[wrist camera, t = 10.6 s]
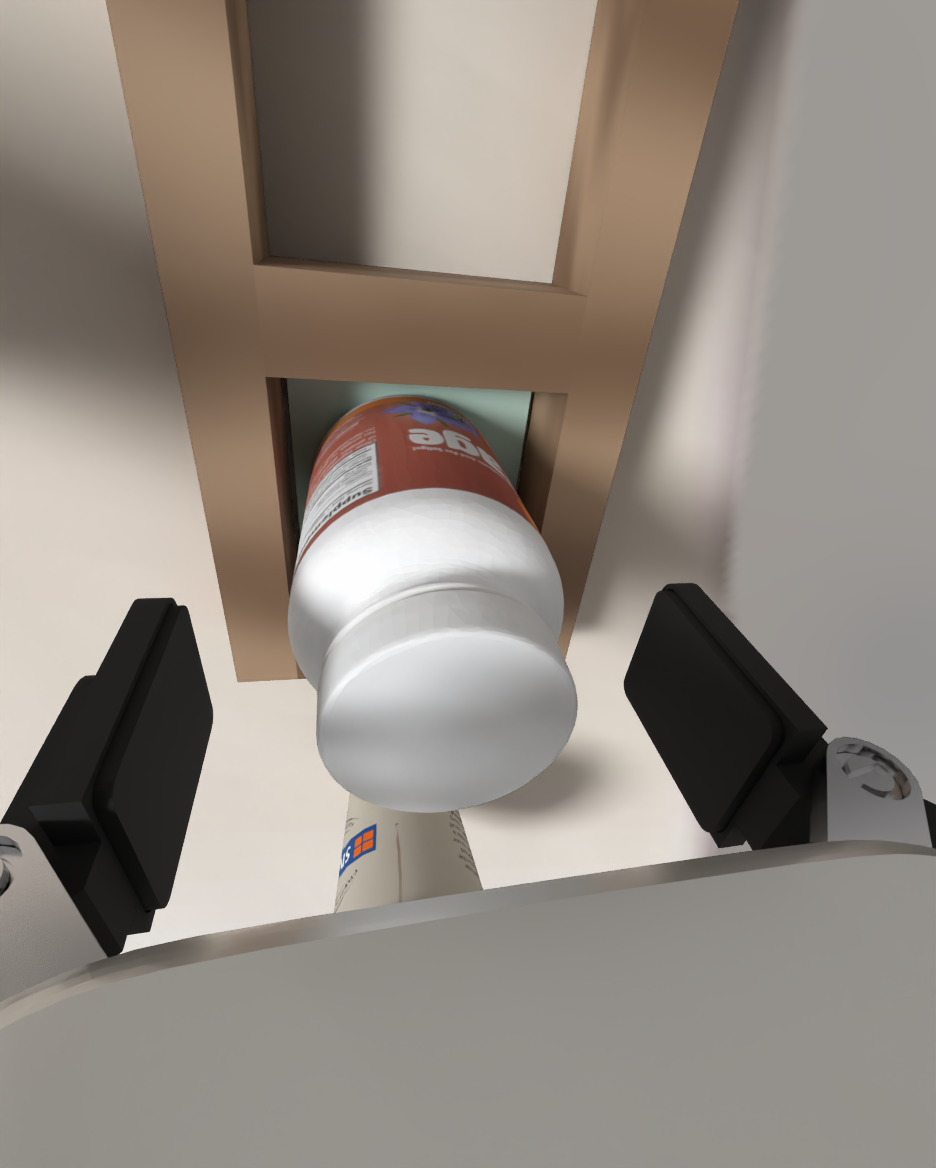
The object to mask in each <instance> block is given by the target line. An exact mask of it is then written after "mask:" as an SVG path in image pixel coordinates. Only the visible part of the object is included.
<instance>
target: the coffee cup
mask: <svg viewBox="0 0 936 1168" xmlns="http://www.w3.org/2000/svg"><path fill="white" fill-rule="evenodd" d="M481 890H483V888H482V885H481V882H480V878H479V875H478V872H477V869H476V866H475V862H474V859H473V856H472V853H471V850H470V847H469V843H468V840H467V837H466V834H465V831H464V827H463V824H462V821H461V818H460V815H459V812H458V810H453V811H446V812H435V813H421V812H406V811H400V810H393V809H388V808H385V807H381V806H378V805H375V804H372V803H370V802H367V801H364V800H362V799H360V798H358V797H356V796H355V795H353V794H352V793H350V798H349V805H348V812H347V820H346V827H345V835H344V842H343V849H342V857H341V864H340V872H339V879H338V887H337V894H336V901H335V909H334V913H338V912H344V911H351V910H357V909H364V908H370V907H377V906H383V905H390V904H396V903H403V902H409V901H415V900H422V899H428V898H435V897H441V896H448V895H454V894H461V893H467V892H474V891H481Z"/></svg>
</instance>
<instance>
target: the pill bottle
mask: <svg viewBox="0 0 936 1168" xmlns="http://www.w3.org/2000/svg"><path fill="white" fill-rule="evenodd" d="M563 614H564V597H563V588H562V582H561V578H560V575H559V572H558V569H557V566H556V564H555V562H554V560H553V558H552V555H551V553H550V551H549V549H548V547H547V545H546V543H545V541H544V539H543V538H542V536H541V535H540V533H539V531H538V529H537V527H536V526H535V524H534V522H533V520H532V519H531V517H530V515H529V513H528V512H527V510H526V508H525V507H524V505H523V503H522V501H521V499H520V498H519V496H518V494H517V493H516V491H515V490H514V488H513V486H512V484H511V483H510V481H509V479H508V477H507V476H506V474H505V472H504V471H503V469H502V467H501V465H500V464H499V462H498V460H497V458H496V457H495V455H494V453H493V452H492V450H491V448H490V446H489V445H488V443H487V441H486V440H485V438H484V437H483V435H482V434H481V433H480V431H479V430H478V429H477V428H476V427H475V425H474V424H473V423H472V422H471V421H470V420H469V419H468V418H467V417H465V416H464V415H463V414H462V413H460V412H459V411H457V410H456V409H454V408H452V407H451V406H449V405H446V404H444V403H442V402H440V401H437V400H434V399H431V398H427V397H423V396H417V395H403V394H401V395H390V396H383V397H379V398H376V399H373V400H370V401H367V402H365V403H363V404H360V405H359V406H357V407H355V408H353V409H352V410H350V411H349V412H348V413H346V414H345V415H344V416H342V417H341V418H340V419H339V420H338V421H337V422H336V423H335V424H334V425H333V426H332V428H331V429H330V430H329V431H328V433H327V434H326V435H325V437H324V439H323V440H322V442H321V444H320V447H319V449H318V451H317V454H316V457H315V460H314V463H313V468H312V474H311V479H310V485H309V491H308V497H307V502H306V508H305V514H304V520H303V526H302V532H301V537H300V542H299V548H298V555H297V560H296V565H295V570H294V575H293V581H292V585H291V593H290V599H289V608H288V632H289V638H290V644H291V647H292V650H293V654H294V656H295V659H296V661H297V663H298V665H299V667H300V669H301V671H302V672H303V674H304V675H305V677H306V678H307V680H308V681H309V683H310V684H311V685H312V686H313V687H314V688H315V690H316V691H317V730H316V736H317V745H318V750H319V754H320V757H321V759H322V761H323V763H324V765H325V767H326V769H327V770H328V772H329V773H330V775H331V776H332V777H333V778H334V779H335V780H336V782H337V783H339V784H340V785H341V786H342V787H343V788H344V789H346V790H347V791H349V792H350V793H352V794H353V795H355V796H356V797H358V798H360V799H362V800H364V801H367V802H370V803H372V804H375V805H378V806H381V807H385V808H388V809H393V810H400V811H406V812H421V813H435V812H446V811H453V810H459V809H464V808H469V807H473V806H477V805H480V804H484V803H487V802H489V801H492V800H495V799H498V798H500V797H502V796H504V795H506V794H509V793H511V792H513V791H515V790H517V789H518V788H520V787H522V786H524V785H525V784H527V783H528V782H529V781H531V780H532V779H533V778H535V777H536V776H538V775H539V774H540V773H541V772H543V771H544V770H545V769H546V768H547V767H548V766H549V765H550V764H551V763H552V762H553V761H554V760H555V758H556V757H557V756H558V755H559V754H560V752H561V751H562V749H563V748H564V746H565V745H566V743H567V742H568V739H569V737H570V735H571V733H572V730H573V728H574V725H575V721H576V716H577V693H576V688H575V684H574V681H573V678H572V675H571V673H570V671H569V668H568V666H567V664H566V661H565V659H564V657H563V654H562V652H561V650H560V647H559V645H558V639H559V635H560V631H561V628H562V622H563Z"/></svg>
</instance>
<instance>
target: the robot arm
mask: <svg viewBox="0 0 936 1168" xmlns="http://www.w3.org/2000/svg"><path fill="white" fill-rule="evenodd" d="M624 690H625V694H626V696H627V698H628V700H629V701H630V703H631V705H632V707H633V708H634V710H635V712H636V714H637V715H638V717H639V719H640V721H641V722H642V724H643V726H644V728H645V730H646V731H647V733H648V735H649V737H650V738H651V740H652V742H653V744H654V745H655V747H656V749H657V751H658V753H659V754H660V756H661V758H662V760H663V761H664V763H665V765H666V767H667V768H668V770H669V772H670V774H671V775H672V777H673V779H674V781H675V783H676V784H677V786H678V788H679V790H680V791H681V793H682V795H683V797H684V798H685V800H686V802H687V804H688V806H689V807H690V809H691V811H692V813H693V814H694V816H695V818H696V820H697V821H698V823H699V825H700V826H701V828H702V829H703V830H704V831H706V832H710V834H711V836H712V838H713V839H714V841H715V843H716V844H717V846H718V848H724V847H731V846H738V845H743V844H744V842H745V841H746V840H747V842H748V844H749V845H750V847H751V848H752V850H753V851H746V852H739V853H732V854H726V855H718V856H711V857H704V858H697V859H690V860H683V861H676V862H669V863H662V864H655V865H648V866H641V867H635V868H628V869H621V870H614V871H607V872H601V873H594V874H587V875H581V876H574V877H567V878H560V879H554V880H547V881H540V882H534V883H527V884H520V885H514V886H507V887H500V888H494V889H487V890H481V891H474V892H467V893H461V894H454V895H448V896H441V897H435V898H428V899H422V900H415V901H409V902H403V903H396V904H390V905H383V906H377V907H370V908H364V909H357V910H351V911H344V912H338V913H332V914H325V915H319V916H312V917H306V918H300V919H294V920H288V921H283V922H277V923H271V924H265V925H259V926H254V927H248V928H242V929H236V930H230V931H224V932H219V933H213V934H207V935H201V936H196V937H191V938H187V939H182V940H177V941H173V942H168V943H164V944H159V945H154V946H150V947H145V948H141V949H136V950H133V951H129V952H126V953H123V954H120V953H121V952H122V951H123V948H124V944H125V941H126V937H127V935H131V934H138V933H145V932H150V929H151V926H152V922H153V918H154V914H155V910H156V909H162V908H165V907H166V906H167V904H168V902H169V899H170V896H171V892H172V888H173V884H174V880H175V875H176V871H177V867H178V863H179V859H180V855H181V851H182V847H183V843H184V839H185V835H186V831H187V827H188V823H189V818H190V814H191V810H192V806H193V802H194V798H195V794H196V790H197V786H198V782H199V778H200V774H201V770H202V765H203V761H204V757H205V753H206V749H207V745H208V741H209V737H210V733H211V729H212V724H213V708H212V704H211V700H210V696H209V691H208V687H207V683H206V679H205V675H204V671H203V667H202V663H201V659H200V655H199V651H198V647H197V643H196V639H195V635H194V631H193V627H192V623H191V619H190V615H189V611H188V608H187V607H186V606H184V605H183V606H177V604H176V602H175V600H174V599H173V598H146V599H136V600H135V601H134V602H133V604H132V606H131V608H130V610H129V611H128V613H127V615H126V617H125V619H124V621H123V623H122V625H121V627H120V629H119V631H118V633H117V635H116V637H115V639H114V641H113V643H112V645H111V647H110V648H109V650H108V652H107V654H106V656H105V658H104V660H103V662H102V664H101V666H100V668H99V670H98V672H97V674H96V675H91V676H84V677H83V678H81V679H80V680H79V681H78V683H77V684H76V685H75V687H74V689H73V690H72V692H71V694H70V696H69V698H68V700H67V701H66V703H65V705H64V707H63V709H62V711H61V712H60V714H59V716H58V718H57V720H56V722H55V723H54V725H53V727H52V729H51V731H50V733H49V734H48V736H47V738H46V740H45V742H44V744H43V745H42V747H41V749H40V751H39V753H38V755H37V756H36V758H35V760H34V762H33V764H32V766H31V768H30V769H29V771H28V773H27V775H26V777H25V779H24V780H23V782H22V784H21V786H20V788H19V790H18V791H17V793H16V795H15V797H14V799H13V801H12V802H11V804H10V806H9V808H8V810H7V812H6V813H5V815H4V817H3V819H2V821H1V823H0V1168H936V805H935V804H933V803H931V802H929V801H927V800H925V799H923V796H922V791H921V788H920V786H919V783H918V781H917V779H916V778H915V776H914V775H913V774H912V773H911V771H910V770H909V769H908V768H907V767H906V766H905V765H904V764H903V763H902V762H901V761H900V760H899V759H898V758H896V757H895V756H893V755H892V754H890V753H889V752H887V751H886V750H884V749H883V748H880V747H879V746H876V745H874V744H872V743H870V742H868V741H864V740H861V739H857V738H851V737H841V738H836V739H834V740H833V741H831V742H830V743H829V744H828V743H827V742H826V741H825V740H824V739H823V738H822V735H823V734H824V733H825V731H826V730H827V729H828V728H827V727H826V726H825V725H824V723H823V722H822V721H821V720H820V719H819V718H818V717H817V716H816V715H815V714H814V712H813V711H812V710H811V709H810V708H809V707H808V706H807V705H806V704H805V703H804V701H803V700H802V699H801V698H800V697H799V696H798V695H797V694H796V693H795V692H794V691H793V689H792V688H791V687H790V686H789V685H788V684H787V683H786V682H785V681H784V679H783V678H782V677H781V676H780V675H779V674H778V673H777V672H776V671H775V670H774V668H773V667H772V666H771V665H770V664H769V663H768V662H767V661H766V660H765V659H764V658H763V656H762V655H761V654H760V653H759V652H758V651H757V650H756V649H755V648H754V646H753V645H752V644H751V643H750V642H749V641H748V640H747V639H746V638H745V637H744V635H743V634H742V633H741V632H740V631H739V630H738V629H737V628H736V627H735V626H734V624H733V623H732V622H731V621H730V620H729V619H728V618H727V617H726V616H725V615H724V613H723V612H722V611H721V610H720V609H719V608H718V607H717V606H716V605H715V604H714V602H713V601H712V600H711V599H710V598H709V597H708V596H707V595H706V594H705V593H704V591H703V590H702V589H701V588H700V587H699V586H698V585H696V584H694V583H677V584H667V585H666V586H665V587H664V588H663V590H662V591H659V592H658V593H657V594H656V596H655V598H654V601H653V604H652V606H651V609H650V612H649V614H648V617H647V620H646V622H645V625H644V628H643V630H642V633H641V636H640V638H639V641H638V644H637V646H636V649H635V652H634V654H633V657H632V660H631V662H630V665H629V668H628V671H627V673H626V676H625V679H624Z"/></svg>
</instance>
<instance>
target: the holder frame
mask: <svg viewBox="0 0 936 1168" xmlns="http://www.w3.org/2000/svg"><path fill="white" fill-rule="evenodd" d="M738 4H739V0H598V2H597V8H596V15H595V21H594V27H593V33H592V39H591V45H590V52H589V58H588V64H587V70H586V76H585V82H584V89H583V95H582V101H581V107H580V113H579V119H578V126H577V132H576V138H575V144H574V150H573V157H572V163H571V169H570V175H569V181H568V187H567V194H566V200H565V206H564V212H563V218H562V224H561V231H560V237H559V243H558V249H557V255H556V261H555V268H554V274H553V280H552V284H550V283H540V282H529V281H519V280H509V279H499V278H489V277H479V276H469V275H458V274H448V273H438V272H428V271H418V270H408V269H398V268H387V267H377V266H367V265H357V264H347V263H337V262H327V261H317V260H306V259H296V258H286V257H276V256H270V254H269V243H268V232H267V222H266V211H265V200H264V189H263V178H262V167H261V156H260V146H259V135H258V124H257V113H256V102H255V91H254V80H253V70H252V59H251V48H250V37H249V26H248V15H247V4H246V0H106V5H107V10H108V15H109V20H110V25H111V30H112V36H113V41H114V46H115V51H116V56H117V61H118V67H119V72H120V77H121V82H122V87H123V92H124V98H125V103H126V108H127V113H128V118H129V123H130V129H131V134H132V139H133V144H134V149H135V154H136V160H137V165H138V170H139V175H140V180H141V185H142V191H143V196H144V201H145V206H146V211H147V216H148V222H149V227H150V232H151V237H152V242H153V247H154V253H155V258H156V263H157V268H158V273H159V278H160V284H161V289H162V294H163V299H164V304H165V309H166V315H167V320H168V325H169V330H170V335H171V340H172V346H173V351H174V356H175V361H176V366H177V371H178V376H179V382H180V387H181V392H182V397H183V402H184V407H185V413H186V418H187V423H188V428H189V433H190V438H191V444H192V449H193V454H194V459H195V464H196V469H197V475H198V480H199V485H200V490H201V495H202V500H203V506H204V511H205V516H206V521H207V526H208V531H209V537H210V542H211V547H212V552H213V557H214V562H215V568H216V573H217V578H218V583H219V588H220V593H221V599H222V604H223V609H224V614H225V619H226V624H227V630H228V635H229V640H230V645H231V650H232V655H233V661H234V666H235V671H236V676H237V681H238V682H250V681H269V680H288V679H307V678H306V677H305V675H304V674H303V672H302V671H301V669H300V667H299V665H298V663H297V661H296V659H295V656H294V654H293V650H292V647H291V644H290V638H289V632H288V608H289V599H290V593H291V585H292V581H293V575H294V570H295V565H296V560H297V547H296V536H295V526H294V515H293V504H292V493H291V482H290V471H289V460H288V450H287V439H286V428H285V417H284V406H283V395H282V384H281V378H287V388H288V399H289V411H290V423H291V434H292V446H293V457H294V469H295V480H296V492H297V504H298V515H299V527H300V537H301V532H302V526H303V520H304V514H305V508H306V502H307V497H308V491H309V485H310V479H311V474H312V468H313V463H314V460H315V457H316V454H317V451H318V449H319V447H320V444H321V442H322V440H323V439H324V437H325V435H326V434H327V433H328V431H329V430H330V429H331V428H332V426H333V425H334V424H335V423H336V422H337V421H338V420H339V419H340V418H341V417H342V416H344V415H345V414H346V413H348V412H349V411H350V410H352V409H353V408H355V407H357V406H359V405H360V404H363V403H365V402H367V401H370V400H373V399H376V398H379V397H383V396H390V395H401V394H403V395H417V396H423V397H427V398H431V399H434V400H437V401H440V402H442V403H444V404H446V405H449V406H451V407H452V408H454V409H456V410H457V411H459V412H460V413H462V414H463V415H464V416H465V417H467V418H468V419H469V420H470V421H471V422H472V423H473V424H474V425H475V427H476V428H477V429H478V430H479V431H480V433H481V434H482V435H483V437H484V438H485V440H486V441H487V443H488V445H489V446H490V448H491V450H492V452H493V453H494V455H495V457H496V458H497V460H498V462H499V464H500V465H501V467H502V469H503V471H504V472H505V474H506V476H507V477H508V479H509V481H510V483H511V484H512V486H513V488H514V490H515V491H516V486H517V479H518V473H519V467H520V460H521V454H522V448H523V442H524V435H525V429H526V423H527V416H528V410H529V404H530V398H531V392H534V397H533V403H532V410H531V416H530V422H529V428H528V434H527V440H526V447H525V453H524V459H523V465H522V471H521V477H520V484H519V490H518V496H519V498H520V499H521V501H522V503H523V505H524V507H525V508H526V510H527V512H528V513H529V515H530V517H531V519H532V520H533V522H534V524H535V526H536V527H537V529H538V531H539V533H540V535H541V536H542V538H543V539H544V541H545V543H546V545H547V547H548V549H549V551H550V553H551V555H552V558H553V560H554V562H555V564H556V566H557V569H558V572H559V575H560V578H561V582H562V588H563V597H564V614H563V622H562V628H561V631H560V635H559V639H558V645H559V647H560V650H561V652H562V654H563V657H564V659H566V655H567V651H568V647H569V643H570V640H571V636H572V632H573V628H574V624H575V621H576V617H577V613H578V609H579V606H580V602H581V598H582V594H583V590H584V587H585V583H586V579H587V575H588V572H589V568H590V564H591V560H592V556H593V553H594V549H595V545H596V541H597V537H598V534H599V530H600V526H601V522H602V519H603V515H604V511H605V507H606V503H607V500H608V496H609V492H610V488H611V485H612V481H613V477H614V473H615V469H616V466H617V462H618V458H619V454H620V451H621V447H622V443H623V439H624V435H625V432H626V428H627V424H628V420H629V416H630V413H631V409H632V405H633V401H634V398H635V394H636V390H637V386H638V382H639V379H640V375H641V371H642V367H643V364H644V360H645V356H646V352H647V348H648V345H649V341H650V337H651V333H652V329H653V326H654V322H655V318H656V314H657V311H658V307H659V303H660V299H661V295H662V292H663V288H664V284H665V280H666V277H667V273H668V269H669V265H670V261H671V258H672V254H673V250H674V246H675V243H676V239H677V235H678V231H679V227H680V224H681V220H682V216H683V212H684V208H685V205H686V201H687V197H688V193H689V190H690V186H691V182H692V178H693V174H694V171H695V167H696V163H697V159H698V156H699V152H700V148H701V144H702V140H703V137H704V133H705V129H706V125H707V121H708V118H709V114H710V110H711V106H712V103H713V99H714V95H715V91H716V87H717V84H718V80H719V76H720V72H721V69H722V65H723V61H724V57H725V53H726V50H727V46H728V42H729V38H730V34H731V31H732V27H733V23H734V19H735V16H736V12H737V8H738Z"/></svg>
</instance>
